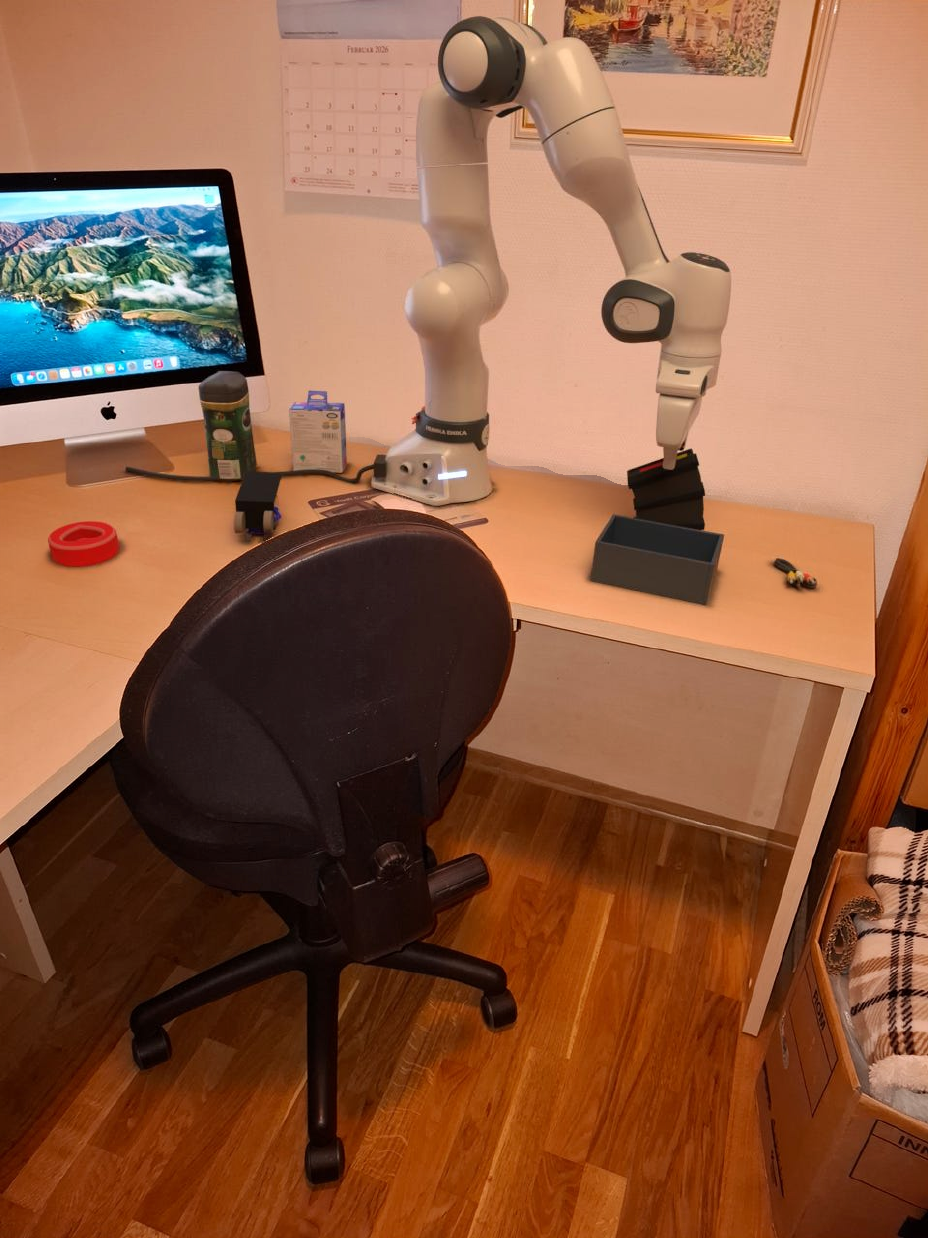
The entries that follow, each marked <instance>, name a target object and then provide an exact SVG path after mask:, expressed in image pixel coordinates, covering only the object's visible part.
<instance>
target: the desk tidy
mask: <svg viewBox="0 0 928 1238" xmlns="http://www.w3.org/2000/svg"><path fill="white" fill-rule="evenodd" d="M724 538H725V533H719V532H712V531H707V530H697V529H691V528H686V527H681V526H675V525H670V524H664V523H659V522H653V521H648V520H642V519H637V518H633V517H632V516H626V515H620V514H614V513H613V514H612V515H611V516H610V517H609V519H608V521H607V523H606V525H605V526H604V527H603V529H602V531H601V532H600V534H599V536H598V537H597V539H596V540H595V542H594V550H593V558H592V564H591V565H592V566H591V575H590V582H593V583H594V582H595V583H600V584H604V585H609V586H614V587H619V588H623V589H627V590H633V591H638V592H641V593H647V594H652V595H656V596H661V597H667V598H671V599H676V600H681V601H686V602H689V603H694V604H699V605H704V606H707V604H708V601H709V598H710V594H711V592H712V588H713V584H714V582H715V578H716V575H717V571H718V566H719V562H720V558H721V553H722V548H723V543H724Z"/></svg>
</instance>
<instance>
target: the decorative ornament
mask: <svg viewBox="0 0 928 1238" xmlns="http://www.w3.org/2000/svg"><path fill="white" fill-rule="evenodd" d="M47 542H48V546H49V551H50V555H51V559H52V560H53V561H54V562H55V563H56V564H58V565H61V566H65V567H87V566H93V565H97V564H101V563H104V562H107V561H109V560H110V559H112V558H114V557H115V556H116V555H117V554H119V552H120V544H119V539H118V533H117V530H116V528H115V527H114V526H113V525H111V524H110V523H106V522H103V521H92V520H90V521H89V520H87V521H85V520H84V521H77V522H73V523H69V524H65V525H62V526H59V527H58V528H56V529H54V530H53V531H52V532H51V533H50V534H49V536H48V537H47Z"/></svg>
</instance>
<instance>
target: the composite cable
mask: <svg viewBox="0 0 928 1238" xmlns="http://www.w3.org/2000/svg"><path fill="white" fill-rule="evenodd" d="M773 564H774V565H775V566H776V567H777V568H779V569H781V570H783V571H784V572H787V576H786V580H787V582H788V583H790V584H792V586H794V587H796V588H798V590H800V589H801V586H802V587H804V588H808V589H814V588H816V587H817V586H818V581H817V579H816V578H815V577H814V576H812V575H810V574H809V573H804V572H802V571H800V570H798V569H797V568H796V567H795V566H794V565H793V564H792V563H791V562H790V561H788V560H786V559H783V558H780V557H777V558H775V560H774V562H773Z"/></svg>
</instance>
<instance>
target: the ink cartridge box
mask: <svg viewBox="0 0 928 1238" xmlns="http://www.w3.org/2000/svg"><path fill="white" fill-rule="evenodd" d="M317 395H318V396H321V397H323V399H322V398H321V399H320V398H311V397H313V396H317ZM345 407H346V406H345V402H328V391H327V390H325V391H324V390H308V391H307V401H306V402H305V401H303V402H300V401H294V402H293V404H292V405H291V407H290V408H289V409H288V417H289V429H290V430H289V431H290V445H291V446H290V447H291V458H292V471H295V470H308V469H318V470H326V471H330V472H333V473H336V474H337V473H338V474H339V473H341V474H342V473H344V470H345V469H346V467H347V466H348V455H347V454H348V453H347V452H348V450H347V430H346V426H347V425H346V408H345Z"/></svg>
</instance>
